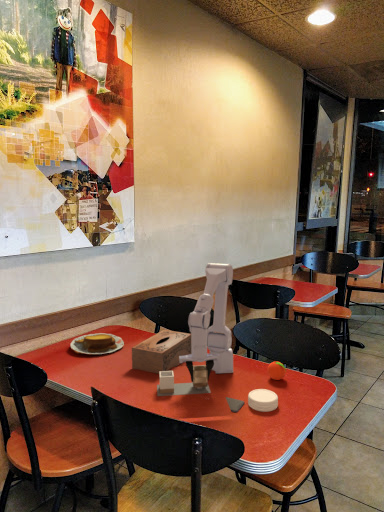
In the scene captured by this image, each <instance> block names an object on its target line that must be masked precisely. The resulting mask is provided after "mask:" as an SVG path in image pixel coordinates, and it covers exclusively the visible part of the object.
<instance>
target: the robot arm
mask: <svg viewBox="0 0 384 512" xmlns="http://www.w3.org/2000/svg"><path fill="white" fill-rule="evenodd" d="M204 271H205V272H204V273H205V278H206V282H205V286H204V290H203V293H202V294H200V295H199V297H198V300H197V302H196V305H195V307H194V309H193V311H192V312H190V313H189V315H188V320H187V323H188V328H189V332H190V334H191V353H192V354H190V355H184V356H179V362H180V364H183V363H185V365H186V366H185V367H187V369H188V373H189V375H190V380H191V383H192V382H193V366H194V363H195V362H198V363H204V362H205V365H206V368H207V382H208V381H209V378H210V374H211V373H212V371H214V372H215V374H232V373H234V352H233V349H232V348H231V347H232V341H233V339H232V331H231V329H230V328H229V327H228V326H226V316H227V315H226V314H227V304H228V303H227V302H228V290H229V286H230V285H232V283H233V277H234V269H233V266H232V264H231V263H217V262H216V263H214V262H208V263H207V264H206V265H205V270H204ZM214 294H215V296H214ZM213 297H214V298H213ZM213 305H214V309H213V323H212V325H211V326H210V322H211V312H212V311H211V310H212V308H213ZM208 350H209V353H208Z"/></svg>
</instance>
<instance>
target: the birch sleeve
mask: <svg viewBox="0 0 384 512" xmlns="http://www.w3.org/2000/svg"><path fill="white" fill-rule="evenodd" d="M207 382H208V381H207V368H206V364H203V365H202V364H201V365H193V382H192V381H191V383H193V387H208V385H209V383H208V384H207Z"/></svg>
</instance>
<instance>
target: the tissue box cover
mask: <svg viewBox="0 0 384 512" xmlns="http://www.w3.org/2000/svg"><path fill="white" fill-rule="evenodd" d="M190 354H192V353H191V333H187V332H181V331H174V330H168V329H163V330H161V331H159V332H158V333H155V334H153V335H151V336H150V337H149V338H147V339H144V340H143V341H141V342H139V343H137V344H136V345H134V346H132V347H131V369H132V370H140V371H143V372H150V373H153V374H159V371H170V369H173V368H177V367H178V366H179V365H181V363H180V362H179V356H184V355H190Z"/></svg>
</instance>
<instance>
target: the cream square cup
mask: <svg viewBox="0 0 384 512" xmlns="http://www.w3.org/2000/svg"><path fill="white" fill-rule="evenodd" d="M174 384H175V374H174V370H168V371H159V385H160V393H173V392H174Z"/></svg>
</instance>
